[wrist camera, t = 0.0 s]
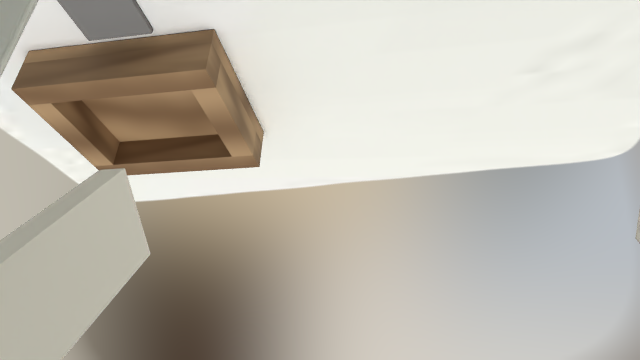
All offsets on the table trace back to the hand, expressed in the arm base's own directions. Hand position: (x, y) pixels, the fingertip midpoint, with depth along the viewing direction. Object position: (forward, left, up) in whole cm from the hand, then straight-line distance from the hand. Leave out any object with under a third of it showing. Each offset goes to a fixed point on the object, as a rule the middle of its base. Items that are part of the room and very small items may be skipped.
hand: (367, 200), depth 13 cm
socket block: (+12, -15, -15) cm, 25 cm away
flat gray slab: (+4, -15, -15) cm, 22 cm away
